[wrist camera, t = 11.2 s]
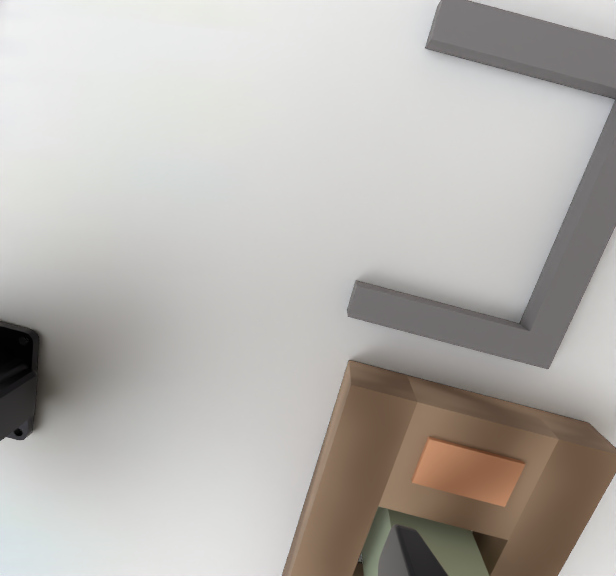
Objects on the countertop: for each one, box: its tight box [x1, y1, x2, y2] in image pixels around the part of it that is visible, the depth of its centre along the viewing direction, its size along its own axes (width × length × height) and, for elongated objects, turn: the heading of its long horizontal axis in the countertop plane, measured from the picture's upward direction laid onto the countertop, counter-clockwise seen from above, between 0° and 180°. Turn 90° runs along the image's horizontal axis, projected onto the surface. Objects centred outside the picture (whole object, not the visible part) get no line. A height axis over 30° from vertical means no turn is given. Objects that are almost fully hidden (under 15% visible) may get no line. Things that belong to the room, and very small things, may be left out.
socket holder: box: [282, 360, 616, 576], centre depth 20 cm, size 12×18×3 cm
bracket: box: [347, 0, 616, 369], centre depth 16 cm, size 10×13×1 cm
